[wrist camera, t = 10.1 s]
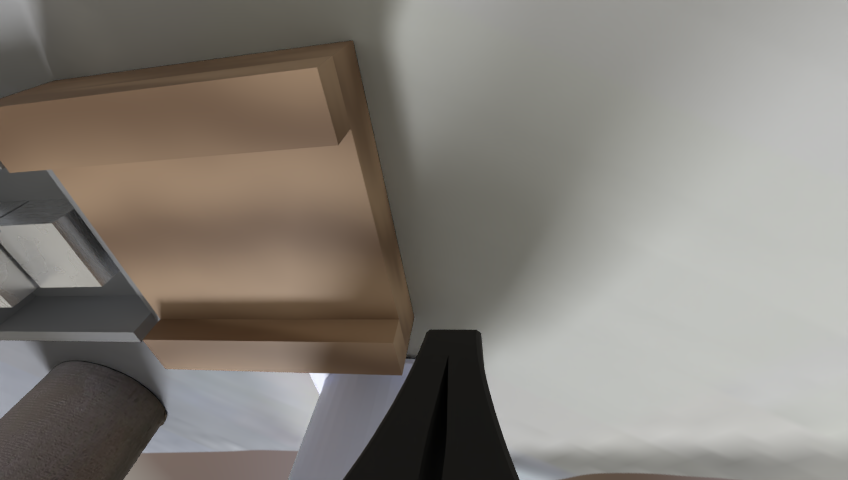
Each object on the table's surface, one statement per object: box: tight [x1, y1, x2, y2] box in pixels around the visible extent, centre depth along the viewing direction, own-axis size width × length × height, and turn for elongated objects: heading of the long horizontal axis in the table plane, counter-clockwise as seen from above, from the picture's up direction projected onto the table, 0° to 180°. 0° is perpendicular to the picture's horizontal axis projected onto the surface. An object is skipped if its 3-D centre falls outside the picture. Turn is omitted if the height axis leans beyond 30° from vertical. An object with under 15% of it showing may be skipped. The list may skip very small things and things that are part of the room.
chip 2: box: [0, 198, 120, 288], centre depth 22 cm, size 4×4×2 cm
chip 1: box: [0, 201, 39, 307], centre depth 22 cm, size 4×4×2 cm
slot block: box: [0, 40, 414, 376], centre depth 20 cm, size 15×14×4 cm
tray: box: [0, 161, 160, 342], centre depth 22 cm, size 12×12×4 cm
